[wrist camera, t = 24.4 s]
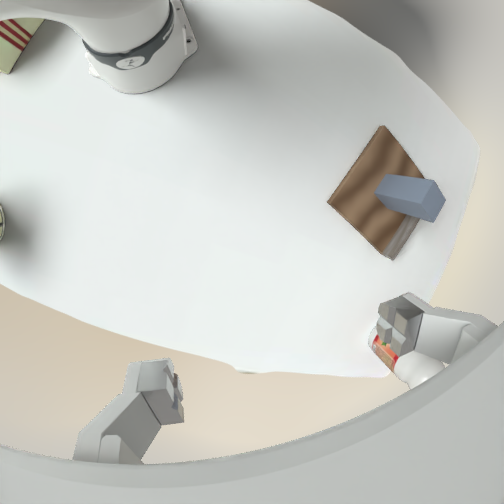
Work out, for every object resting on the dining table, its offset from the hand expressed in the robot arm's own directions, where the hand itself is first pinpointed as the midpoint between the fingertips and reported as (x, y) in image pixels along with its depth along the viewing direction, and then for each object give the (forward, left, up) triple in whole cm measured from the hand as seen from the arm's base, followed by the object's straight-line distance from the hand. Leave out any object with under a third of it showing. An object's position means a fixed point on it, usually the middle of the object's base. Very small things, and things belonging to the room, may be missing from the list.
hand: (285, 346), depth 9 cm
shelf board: (+2, +34, -37) cm, 50 cm away
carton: (+2, +34, -36) cm, 49 cm away
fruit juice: (+38, +36, -37) cm, 64 cm away
